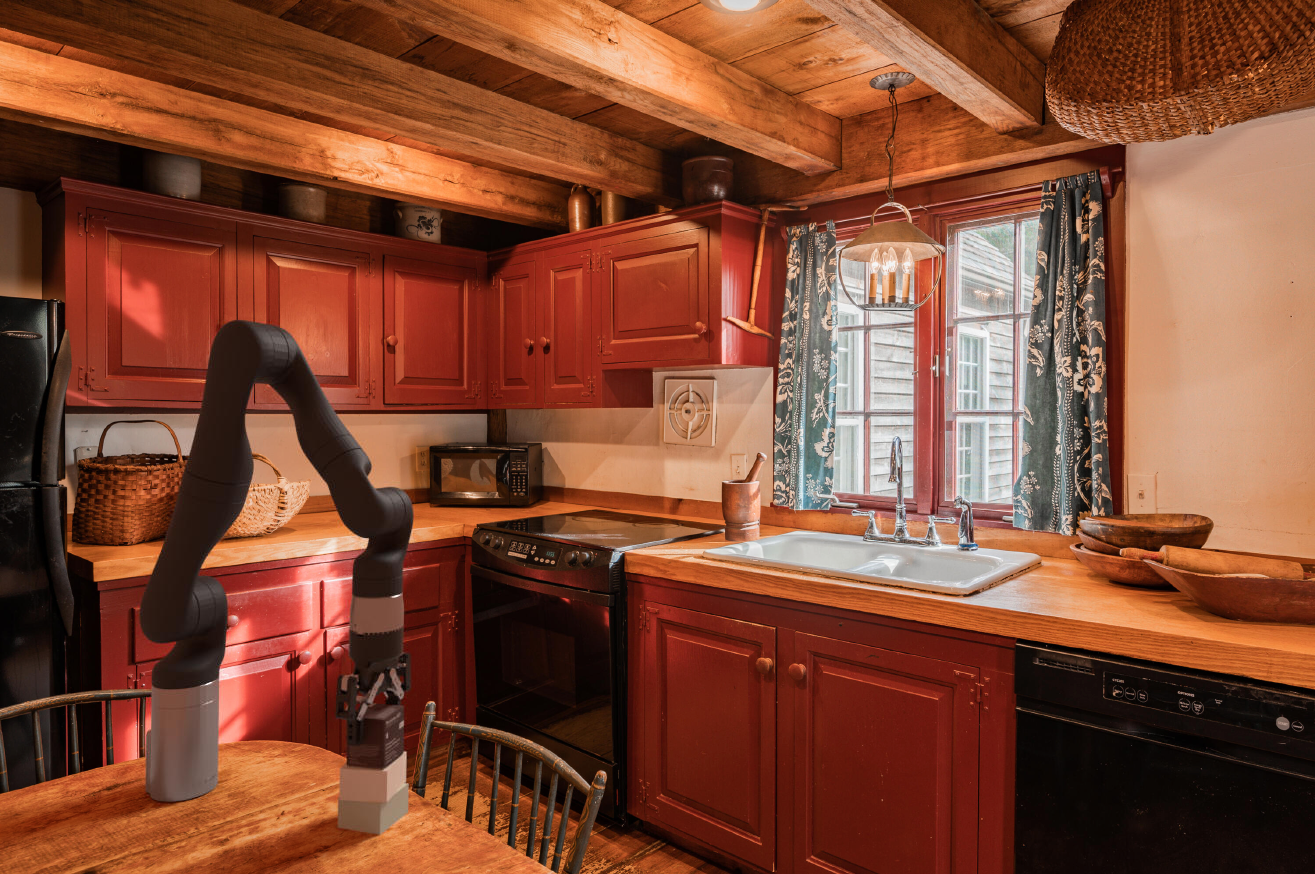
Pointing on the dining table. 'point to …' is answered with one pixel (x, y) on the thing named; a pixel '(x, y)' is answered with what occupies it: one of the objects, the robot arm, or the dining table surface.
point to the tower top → (372, 781)
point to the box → (379, 737)
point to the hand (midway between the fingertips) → (374, 733)
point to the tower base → (373, 813)
